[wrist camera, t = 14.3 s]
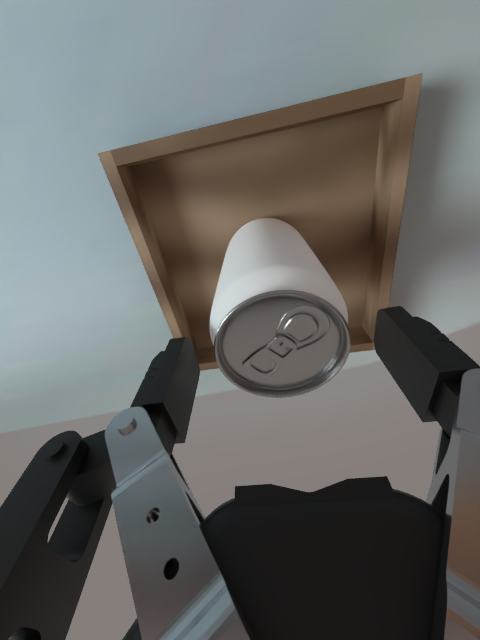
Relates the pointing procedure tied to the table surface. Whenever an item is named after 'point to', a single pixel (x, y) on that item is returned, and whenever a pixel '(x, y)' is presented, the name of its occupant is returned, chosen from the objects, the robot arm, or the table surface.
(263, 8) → the table surface
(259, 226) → the can
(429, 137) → the table surface
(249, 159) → the tray
